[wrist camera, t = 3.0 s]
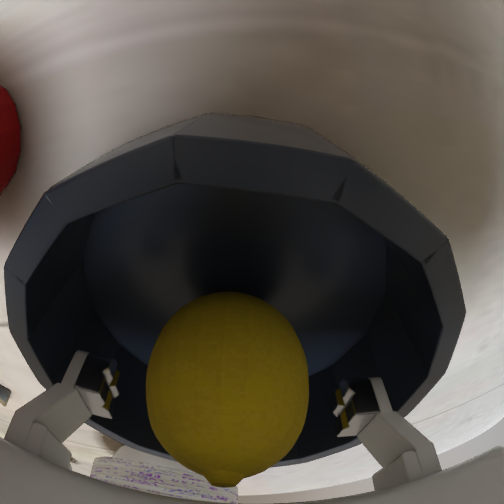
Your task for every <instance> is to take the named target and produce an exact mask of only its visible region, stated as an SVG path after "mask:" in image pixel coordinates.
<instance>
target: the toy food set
mask: <svg viewBox="0 0 504 504" xmlns="http://www.w3.org/2000/svg"><path fill="white" fill-rule="evenodd" d="M10 393H11V392H10V390H8V389H6V388H4V387H2V386H1V385H0V403H1V404H2V405H3V406H6V404H7V402H8V400H9V396H10Z"/></svg>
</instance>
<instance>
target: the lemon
mask: <svg viewBox="0 0 504 504" xmlns="http://www.w3.org/2000/svg"><path fill="white" fill-rule="evenodd" d="M308 400H309V377H308V366H307V361H306V356H305V353H304V350H303V347H302V345H301V343H300V341H299V339H298V337H297V335H296V333H295V331H294V329H293V327H292V325H291V324H290V323H289V321H288V320H287V319H286V318H285V317H284V316H283V315H282V314H281V313H280V312H279V311H278V310H277V309H276V308H274V307H273V306H272V305H270V304H268V303H267V302H265V301H263V300H261V299H260V298H257V297H254V296H251V295H248V294H245V293H239V292H230V291H229V292H216V293H212V294H208V295H205V296H201V297H198V298H196V299H195V300H193V301H191V302H189V303H188V304H186V305H184V306H183V307H181V308H180V309H179V310H178V311H177V312H176V313H175V314H174V315H173V316H172V317H171V318H170V319H169V320H168V322H167V323H166V324H165V326H164V327H163V329H162V330H161V332H160V334H159V336H158V338H157V341H156V343H155V345H154V348H153V350H152V353H151V356H150V359H149V363H148V368H147V375H146V401H147V409H148V416H149V420H150V424H151V427H152V430H153V432H154V434H155V436H156V438H157V439H158V441H159V442H160V444H161V445H162V446H163V448H164V449H165V450H166V451H167V452H168V453H169V454H170V455H171V456H172V457H173V458H174V459H175V460H176V461H177V462H179V463H180V464H181V465H183V466H184V467H186V468H187V469H189V470H191V471H193V472H195V473H197V474H200V475H203V476H204V477H205V478H206V479H207V481H208V482H209V483H210V484H211V485H212V486H215V487H222V488H231V487H235V486H236V485H237V484H238V483H239V482H240V481H241V480H242V479H243V478H247V477H250V476H253V475H256V474H258V473H261V472H263V471H265V470H267V469H268V468H270V467H271V466H273V465H274V464H276V463H277V462H279V461H280V460H281V459H282V458H283V457H284V456H286V454H287V453H288V452H289V451H290V450H291V449H292V447H293V446H294V444H295V442H296V440H297V439H298V437H299V435H300V433H301V431H302V428H303V426H304V423H305V419H306V414H307V408H308Z"/></svg>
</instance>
